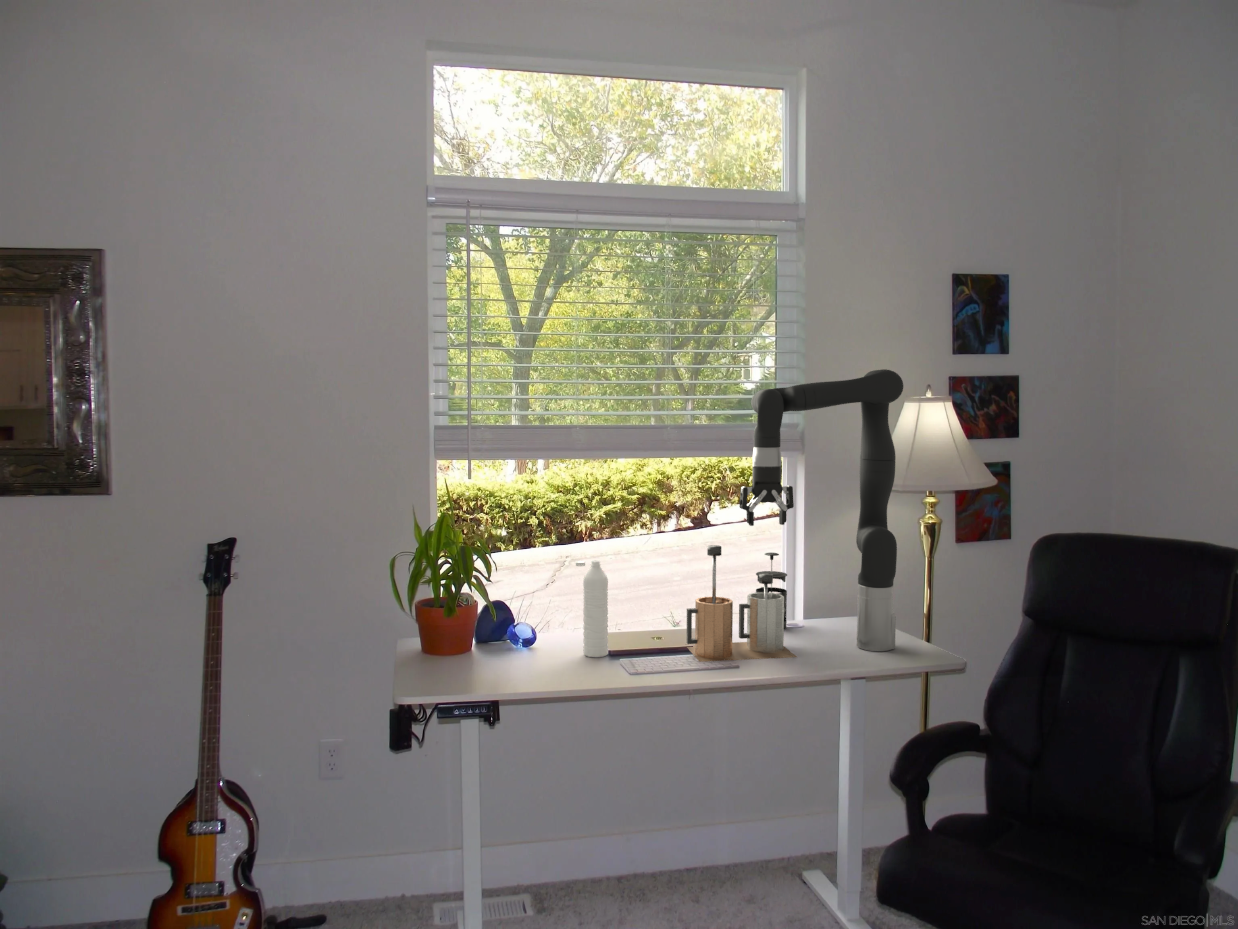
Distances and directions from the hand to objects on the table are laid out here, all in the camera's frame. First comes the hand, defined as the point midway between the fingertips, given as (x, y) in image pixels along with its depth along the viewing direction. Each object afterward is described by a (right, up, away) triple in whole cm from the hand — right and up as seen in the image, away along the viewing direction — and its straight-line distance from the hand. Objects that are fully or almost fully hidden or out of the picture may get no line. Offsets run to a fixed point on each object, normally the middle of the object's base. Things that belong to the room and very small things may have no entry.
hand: (766, 525), depth 232 cm
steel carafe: (-2, -33, 0) cm, 33 cm away
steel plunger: (0, -29, 0) cm, 29 cm away
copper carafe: (-16, -33, -5) cm, 37 cm away
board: (-8, -34, -2) cm, 35 cm away
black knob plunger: (-15, -21, -6) cm, 26 cm away
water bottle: (-47, -34, -2) cm, 58 cm away
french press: (+5, -33, +23) cm, 41 cm away
